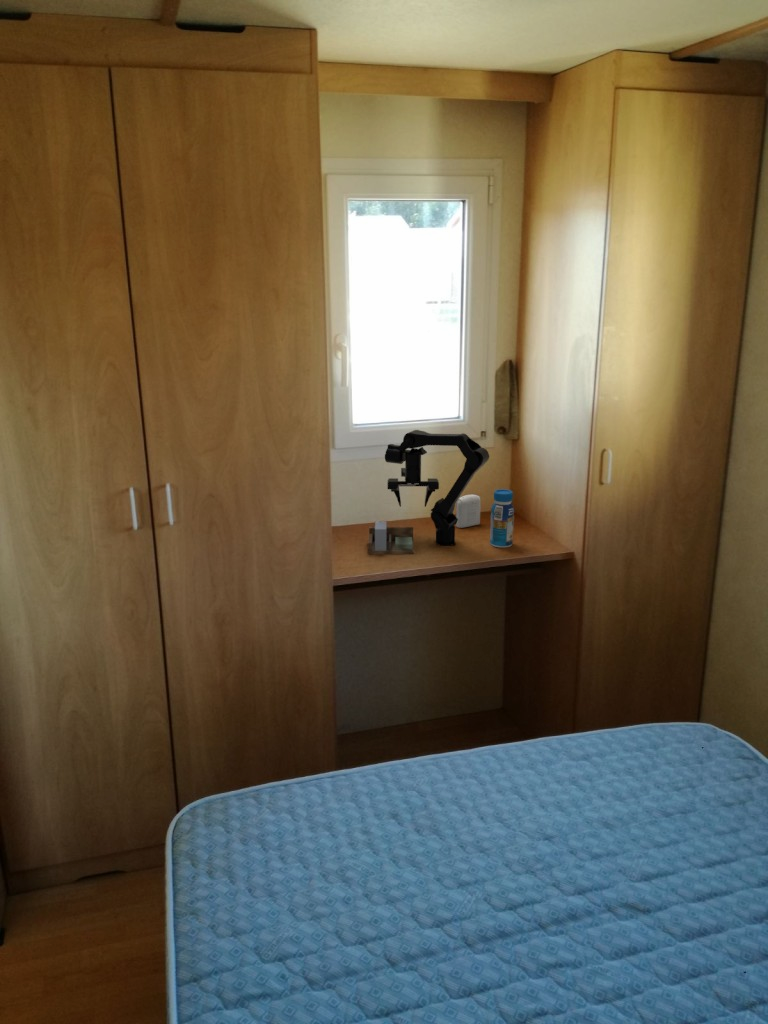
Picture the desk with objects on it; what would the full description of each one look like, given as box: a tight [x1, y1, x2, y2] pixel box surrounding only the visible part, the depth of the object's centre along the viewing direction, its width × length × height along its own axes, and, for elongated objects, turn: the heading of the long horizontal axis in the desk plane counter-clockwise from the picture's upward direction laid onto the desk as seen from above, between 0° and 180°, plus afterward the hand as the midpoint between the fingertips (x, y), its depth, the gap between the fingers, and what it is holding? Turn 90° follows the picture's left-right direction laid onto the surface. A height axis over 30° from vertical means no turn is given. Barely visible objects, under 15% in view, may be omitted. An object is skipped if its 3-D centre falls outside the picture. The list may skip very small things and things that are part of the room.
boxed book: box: [374, 520, 388, 551], centre depth 280 cm, size 4×9×8 cm, turn 179°
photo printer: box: [455, 494, 482, 529], centre depth 305 cm, size 10×4×12 cm, turn 123°
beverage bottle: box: [489, 488, 515, 549], centre depth 283 cm, size 8×8×20 cm
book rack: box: [368, 526, 415, 555], centre depth 281 cm, size 16×12×6 cm
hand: (412, 506), depth 290 cm, fingers open, 9 cm apart
